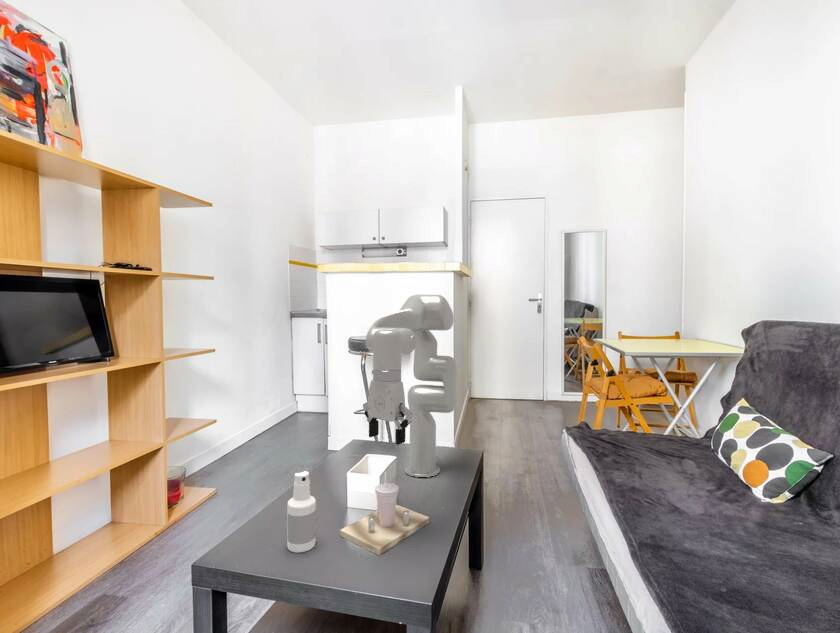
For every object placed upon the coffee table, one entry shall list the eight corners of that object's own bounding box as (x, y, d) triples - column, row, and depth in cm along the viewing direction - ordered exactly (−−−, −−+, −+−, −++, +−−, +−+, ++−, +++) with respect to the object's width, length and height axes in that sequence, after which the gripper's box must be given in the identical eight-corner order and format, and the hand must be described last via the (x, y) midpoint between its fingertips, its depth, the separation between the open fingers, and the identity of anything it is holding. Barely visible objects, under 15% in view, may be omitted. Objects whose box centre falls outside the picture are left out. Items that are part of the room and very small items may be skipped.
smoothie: (369, 523, 112) (370, 471, 112) (387, 515, 117) (388, 465, 117) (385, 532, 108) (386, 478, 108) (403, 523, 113) (404, 471, 112)
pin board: (391, 507, 125) (391, 490, 125) (429, 522, 116) (429, 504, 116) (339, 535, 109) (340, 516, 109) (379, 555, 100) (379, 534, 100)
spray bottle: (291, 556, 100) (291, 481, 99) (284, 542, 105) (284, 471, 105) (319, 548, 103) (319, 475, 103) (310, 535, 109) (311, 466, 109)
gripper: (354, 374, 114) (354, 436, 115) (402, 381, 104) (402, 450, 104) (373, 371, 120) (373, 430, 121) (421, 377, 110) (420, 442, 110)
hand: (386, 439), depth 112 cm, fingers open, 9 cm apart
